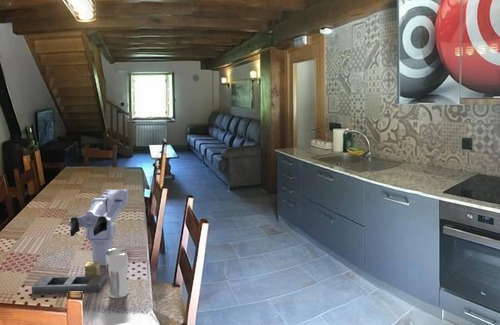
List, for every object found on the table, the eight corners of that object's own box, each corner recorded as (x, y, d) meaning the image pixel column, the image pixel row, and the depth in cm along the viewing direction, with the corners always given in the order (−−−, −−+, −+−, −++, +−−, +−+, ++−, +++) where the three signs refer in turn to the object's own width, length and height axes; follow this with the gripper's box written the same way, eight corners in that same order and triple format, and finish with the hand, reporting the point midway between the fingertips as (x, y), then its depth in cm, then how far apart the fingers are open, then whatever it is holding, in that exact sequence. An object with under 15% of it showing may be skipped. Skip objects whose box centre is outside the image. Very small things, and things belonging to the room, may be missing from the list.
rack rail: (42, 282, 142) (42, 276, 141) (105, 281, 144) (105, 274, 143) (32, 293, 134) (31, 287, 134) (99, 291, 136) (98, 285, 135)
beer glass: (107, 291, 136) (105, 249, 134) (128, 287, 139) (126, 246, 136) (108, 301, 130) (105, 257, 127) (130, 297, 132) (128, 254, 130)
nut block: (89, 276, 147) (88, 261, 146) (100, 276, 147) (99, 261, 146) (85, 281, 143) (84, 266, 142) (97, 281, 143) (96, 265, 142)
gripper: (73, 206, 148) (59, 223, 135) (113, 205, 149) (103, 222, 136) (75, 223, 150) (62, 241, 137) (115, 222, 151) (105, 240, 139)
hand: (83, 233), depth 137 cm, fingers open, 7 cm apart
